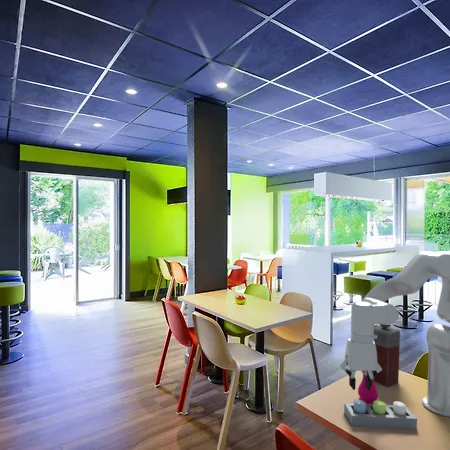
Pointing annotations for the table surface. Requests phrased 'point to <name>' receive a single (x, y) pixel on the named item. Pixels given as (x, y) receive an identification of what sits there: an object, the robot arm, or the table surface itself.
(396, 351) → the brown salt grinder
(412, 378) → the table surface
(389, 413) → the panel
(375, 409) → the lime button
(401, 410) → the white rounded piece
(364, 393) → the pepper mill
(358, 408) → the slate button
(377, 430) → the table surface
